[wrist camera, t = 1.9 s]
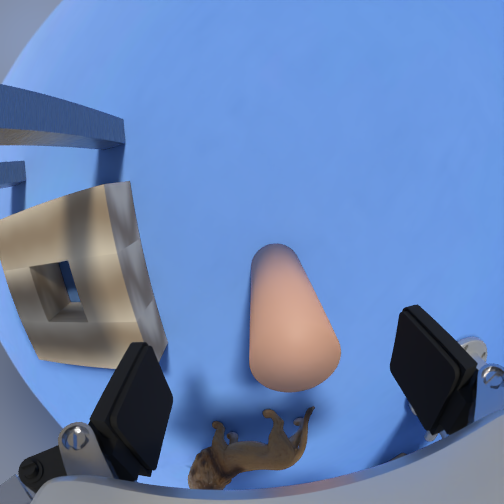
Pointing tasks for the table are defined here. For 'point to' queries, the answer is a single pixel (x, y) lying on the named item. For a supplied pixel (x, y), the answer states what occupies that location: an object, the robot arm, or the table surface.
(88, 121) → the grey piece
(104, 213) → the socket block
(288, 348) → the peg
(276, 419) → the lion figurine
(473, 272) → the table surface
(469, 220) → the table surface
